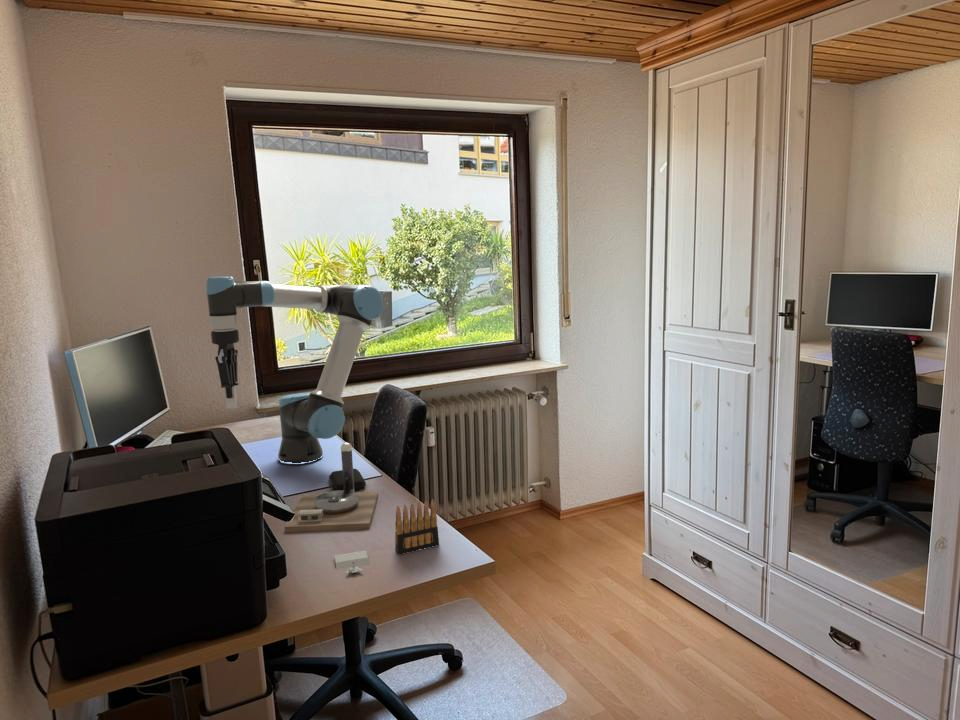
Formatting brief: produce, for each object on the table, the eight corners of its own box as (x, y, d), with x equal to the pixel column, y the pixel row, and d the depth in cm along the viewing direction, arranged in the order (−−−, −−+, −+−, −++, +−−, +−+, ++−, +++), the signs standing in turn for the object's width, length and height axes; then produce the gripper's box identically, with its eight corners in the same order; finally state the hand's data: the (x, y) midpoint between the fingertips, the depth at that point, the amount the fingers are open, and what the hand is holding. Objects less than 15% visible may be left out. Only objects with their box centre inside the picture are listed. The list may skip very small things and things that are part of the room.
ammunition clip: (436, 542, 161) (434, 497, 159) (439, 545, 160) (437, 499, 158) (395, 552, 157) (392, 505, 155) (397, 555, 155) (395, 508, 153)
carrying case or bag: (325, 480, 208) (332, 496, 195) (324, 471, 208) (331, 486, 194) (358, 475, 212) (367, 490, 198) (358, 466, 211) (367, 480, 198)
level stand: (303, 499, 191) (302, 487, 191) (378, 496, 192) (377, 484, 192) (285, 532, 170) (283, 519, 169) (369, 528, 171) (369, 515, 170)
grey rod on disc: (345, 515, 175) (342, 459, 172) (306, 511, 178) (302, 456, 175) (370, 494, 189) (367, 442, 186) (333, 491, 192) (330, 440, 190)
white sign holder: (366, 555, 157) (365, 545, 156) (373, 579, 145) (372, 568, 145) (334, 560, 155) (334, 550, 154) (339, 584, 143) (338, 574, 143)
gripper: (219, 327, 196) (226, 403, 201) (203, 333, 184) (211, 414, 188) (244, 326, 197) (251, 402, 201) (230, 332, 184) (237, 413, 188)
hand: (232, 407), depth 194 cm, fingers closed
